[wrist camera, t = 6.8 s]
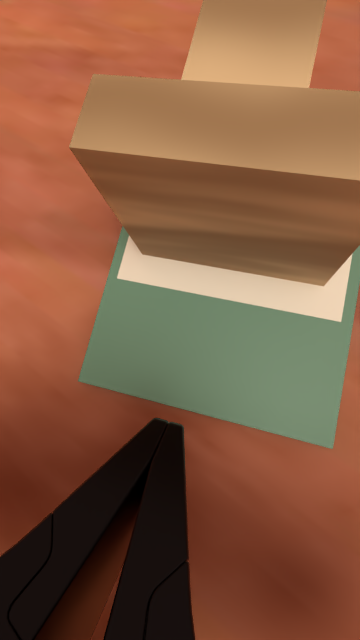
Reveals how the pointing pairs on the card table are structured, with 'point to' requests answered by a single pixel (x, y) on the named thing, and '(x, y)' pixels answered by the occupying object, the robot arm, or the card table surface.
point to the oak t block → (232, 148)
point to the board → (225, 342)
